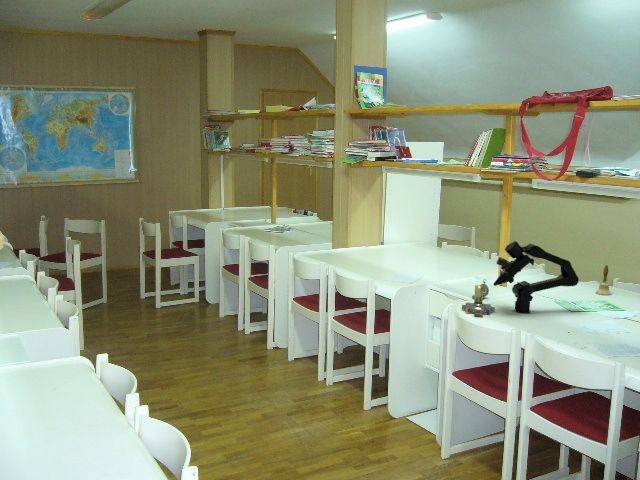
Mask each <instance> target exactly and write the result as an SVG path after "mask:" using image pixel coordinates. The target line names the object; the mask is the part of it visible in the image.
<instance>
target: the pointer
mask: <svg viewBox="0 0 640 480" xmlns="http://www.w3.org/2000/svg"><path fill="white" fill-rule="evenodd" d="M473 317H474V318H480V319H481V318H484V314H480V313H473Z"/></svg>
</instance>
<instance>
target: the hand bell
mask: <svg viewBox="0 0 640 480" xmlns="http://www.w3.org/2000/svg"><path fill="white" fill-rule="evenodd" d="M602 272H603V279H602V282H601V283H599V286H598V289H597V290H596V291H595V294H597V295H601V296H611V295H612V292H611V291H610V285H609V284H608V283H607V279H608V275H609V266H608V264H607V265H604V268H603V270H602Z"/></svg>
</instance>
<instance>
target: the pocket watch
mask: <svg viewBox="0 0 640 480" xmlns="http://www.w3.org/2000/svg"><path fill="white" fill-rule="evenodd" d="M482 282H483V283H481V284H480V285H481V286H483V298H484V299H485V297H487V296H488V295H489V294H490V293H489V292H490V289H489V287H488V285H487V284H486V279H485V278H484V279H483V281H482ZM474 297H475V294H473V295H471V298H472V299H474Z"/></svg>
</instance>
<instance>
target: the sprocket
mask: <svg viewBox="0 0 640 480" xmlns="http://www.w3.org/2000/svg"><path fill="white" fill-rule="evenodd" d="M483 293H484V292H483V286H481V284H479V285H477V284H476V285H474V295H475V297H474V298H473V302H466V303H465V304H462V305H461V310H464V311H465V313H468V314H469V313H472V314H477V313H480V314H483V315H484V314H485V315H486V314H488V315H491V314H492V312H493V313H494V312H496V307H495V306H492V305H491V304H490V303H487V304H486V303H483V301H484V299H483Z"/></svg>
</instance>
